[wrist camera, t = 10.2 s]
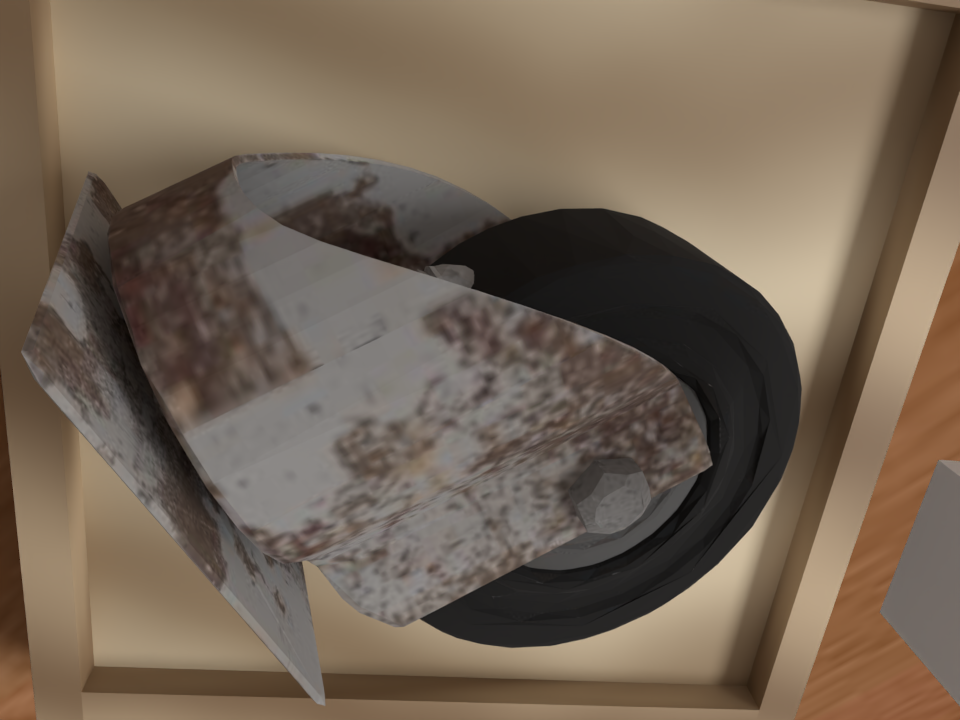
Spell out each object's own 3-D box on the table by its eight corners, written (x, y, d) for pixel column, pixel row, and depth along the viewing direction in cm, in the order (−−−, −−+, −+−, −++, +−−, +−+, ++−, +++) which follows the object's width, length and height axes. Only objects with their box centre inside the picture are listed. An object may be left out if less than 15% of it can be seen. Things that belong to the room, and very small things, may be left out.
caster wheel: (705, 407, 20) (348, 589, 19) (595, -65, 14) (58, 180, 13) (901, 598, 14) (412, 864, 14) (869, -44, 8) (-41, 385, 7)
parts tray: (4, -188, 13) (-61, -226, 11) (979, -33, 15) (1058, -43, 14) (71, 661, 20) (36, 725, 18) (754, 682, 22) (786, 741, 20)
